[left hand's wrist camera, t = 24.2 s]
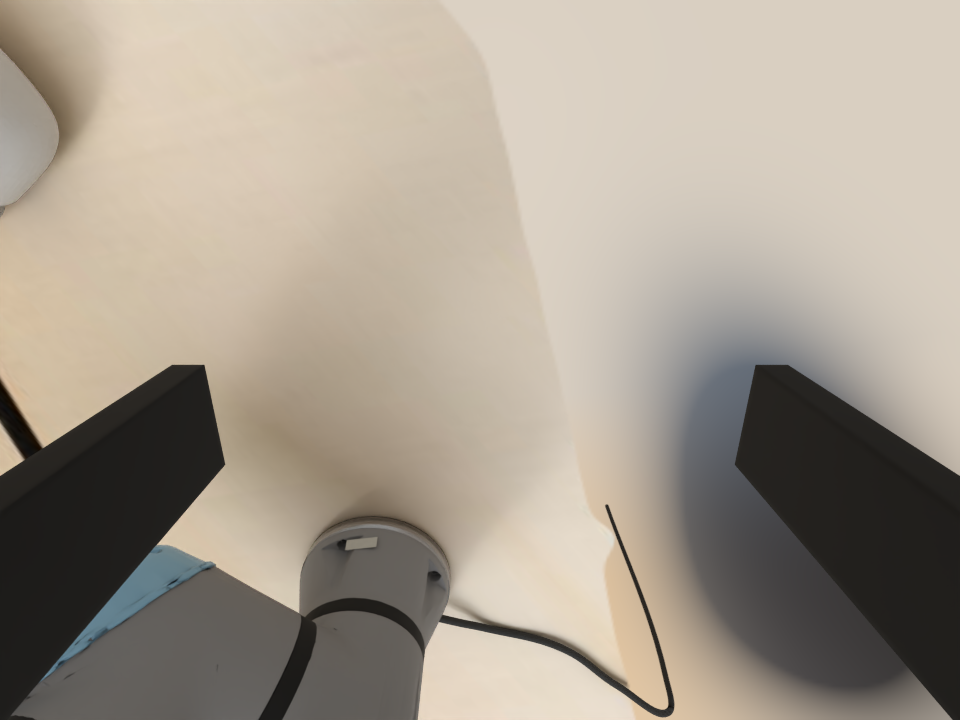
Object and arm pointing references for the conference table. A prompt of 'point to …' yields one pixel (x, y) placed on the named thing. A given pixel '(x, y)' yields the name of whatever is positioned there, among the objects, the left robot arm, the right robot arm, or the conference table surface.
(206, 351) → the conference table surface
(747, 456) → the left robot arm
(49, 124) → the projector
